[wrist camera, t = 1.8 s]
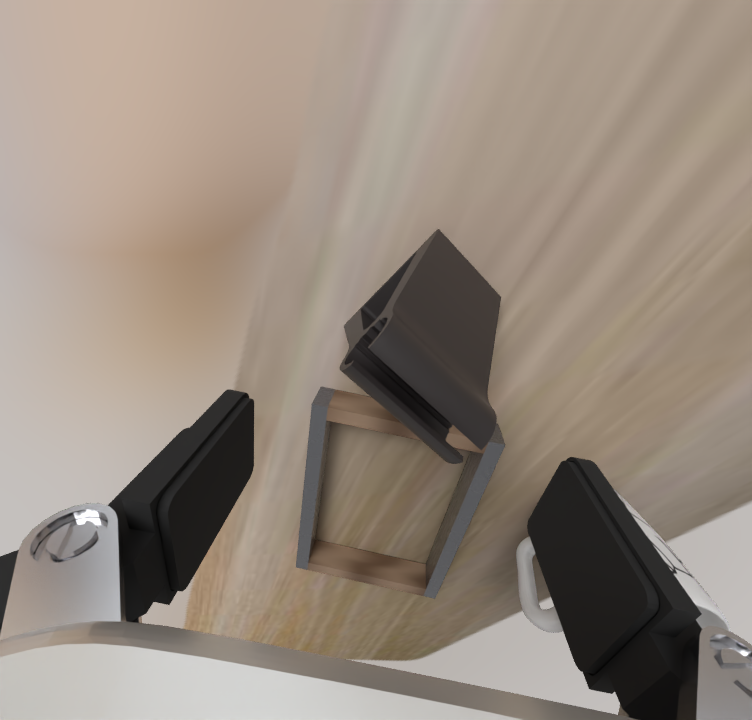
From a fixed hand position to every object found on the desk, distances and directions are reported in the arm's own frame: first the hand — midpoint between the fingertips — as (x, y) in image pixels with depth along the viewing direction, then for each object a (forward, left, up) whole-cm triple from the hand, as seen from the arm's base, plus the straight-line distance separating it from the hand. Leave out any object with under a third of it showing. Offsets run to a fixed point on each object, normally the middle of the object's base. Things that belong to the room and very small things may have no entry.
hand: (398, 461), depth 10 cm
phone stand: (-1, 0, -15) cm, 15 cm away
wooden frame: (-2, +18, -15) cm, 23 cm away
